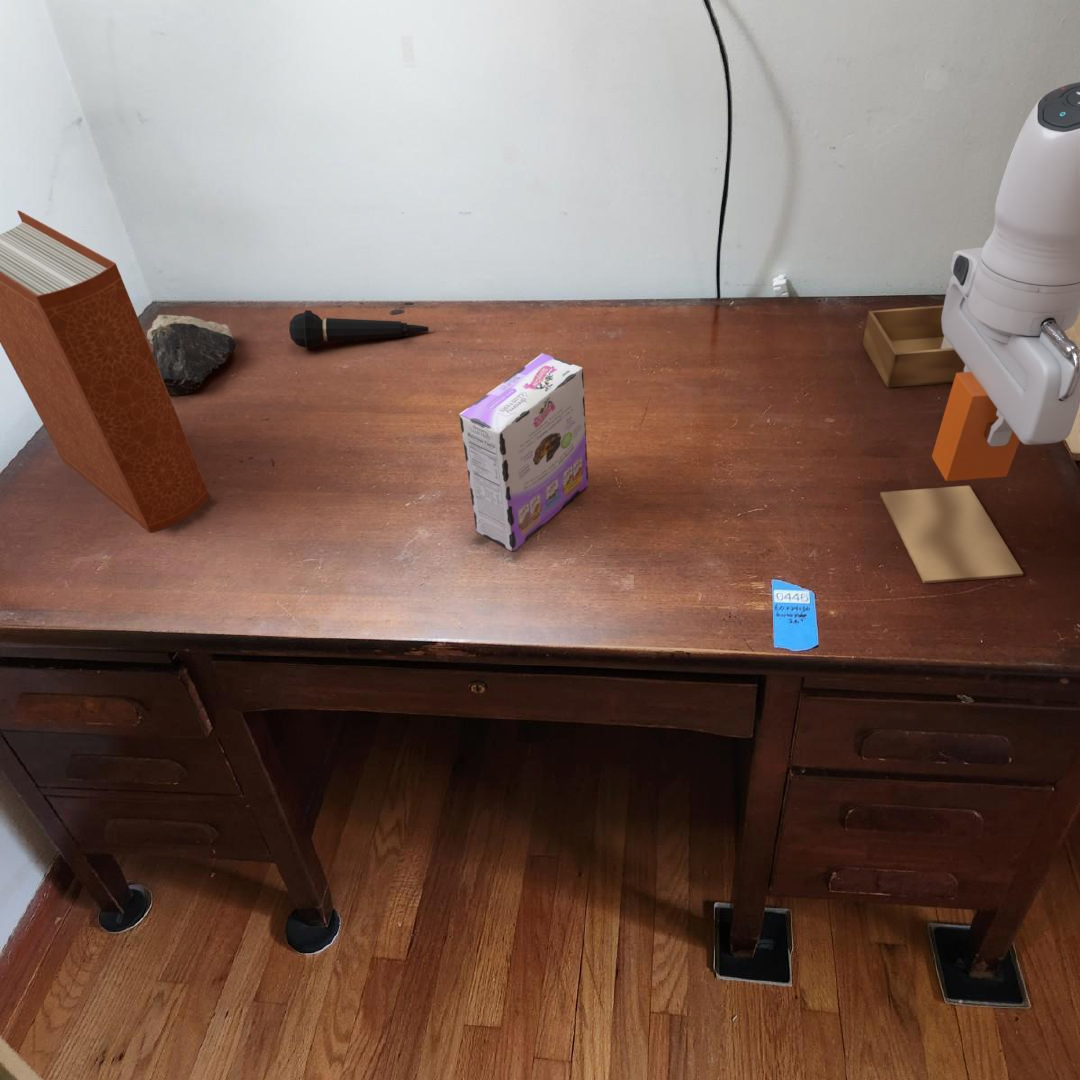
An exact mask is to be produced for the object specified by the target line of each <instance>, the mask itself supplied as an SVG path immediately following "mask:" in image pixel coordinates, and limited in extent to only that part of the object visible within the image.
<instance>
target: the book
mask: <svg viewBox="0 0 1080 1080" xmlns="http://www.w3.org/2000/svg"><path fill="white" fill-rule="evenodd" d="M16 212H17V215H18V216H19V218H20V220H21V223H20V224H18V225H16V226H15V227H13V228H11V229H9V230H6V231H4V232H2V233H0V345H1V347H2V349H3V351H4V352H5V355H6V356H7V358H8V360H9V362H10V364H11V366H12V368H13V370H14V372H15V374H16V375H17V377H18V379H19V381H20V383H21V385H22V387H23V388H24V390H25V392H26V394H27V396H28V398H29V400H30V402H31V404H32V405H33V407H34V409H35V411H36V413H37V415H38V417H39V418H40V420H41V422H42V424H43V426H44V428H45V430H46V432H47V434H48V436H49V437H50V439H51V441H52V443H53V445H54V447H55V449H56V451H57V452H58V454H59V456H60V458H61V460H62V462H63V463H65V464H66V465H67V466H69V467H70V468H71V469H72V470H73V471H75V472H76V474H78V475H79V476H80V477H82V478H83V479H84V480H85V481H87V483H89V484H90V485H92V486H93V487H94V488H95V489H96V490H98V491H99V492H100V493H101V494H102V495H104V497H106V498H107V499H108V500H110V501H111V502H112V503H113V504H115V506H117V507H118V508H119V509H120V510H122V512H124V513H125V514H127V515H128V516H129V517H130V518H131V519H132V520H134V521H135V522H136V523H137V524H138V525H139V526H141V527H142V528H143V529H145V531H147V532H148V533H150V534H151V533H155V532H157V531H161V530H165V529H167V528H169V527H172V526H174V525H176V524H178V523H181V522H182V521H184V520H185V519H187V518H189V517H190V516H192V515H193V514H195V513H196V512H198V511H199V510H201V508H202V507H203V506H204V505H205V504H206V503H207V502H208V501H209V500H210V498H211V494H210V492H209V489H208V487H207V484H206V482H205V480H204V477H203V475H202V472H201V470H200V468H199V465H198V463H197V460H196V457H195V455H194V453H193V451H192V448H191V445H190V443H189V441H188V438H187V436H186V433H185V430H184V428H183V426H182V423H181V421H180V418H179V416H178V413H177V411H176V409H175V406H174V403H173V400H172V398H171V395H170V394H169V393H168V391H167V389H166V386H165V384H164V381H163V379H162V376H161V374H160V371H159V369H158V366H157V364H156V361H155V359H154V357H153V354H152V353H153V351H152V349H151V347H150V344H149V342H148V338H147V336H146V334H145V332H144V329H143V327H142V324H141V322H140V320H139V318H138V317H139V316H138V315H137V312H136V310H135V307H134V305H133V303H132V299H131V298H130V295H129V293H128V290H127V288H126V285H125V282H124V280H123V278H122V276H121V272H120V271H119V268H118V265H117V263H116V262H115V261H113V260H111V259H109V258H107V257H105V256H104V255H102V254H100V253H98V252H96V251H94V250H92V249H91V248H89V247H87V246H85V245H83V244H81V243H80V242H77V241H76V240H74V239H72V238H70V237H68V236H67V235H65V234H63V233H61V232H60V231H58V230H56V229H54V228H52V227H51V226H48V225H47V224H44V223H43V222H41V221H39V220H38V219H36V218H34V217H32V216H30V215H28V214H26V213H25V212H22V211H21V210H17V211H16Z"/></svg>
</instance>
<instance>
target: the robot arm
mask: <svg viewBox="0 0 1080 1080" xmlns="http://www.w3.org/2000/svg"><path fill="white" fill-rule="evenodd" d="M994 205H995V206H994V225H993V227H992V231H991V233H990V235H989V237H988V239H986V242H985V243H984V245H983V246H982V247H971V248H964V249H959V250H955V252H954V253H953V254H952V258H951V262H950V272H951V274H952V276H951V278H950V280H949V281H948V285H947V290H946V293H945V296H944V297H945V298H944V301H943V305H944V306H943V311H942V317H941V323H942V332H943V334H944V336H945V337H946V338H947V340H948V341H949V343H950V344H951V345H952V347H953V348H954V350H955V351H956V352H957V354H958V355H959V356H960V358H961V359H962V361H963V362H964V363H965V367H964V372H971V373H972V374H973V375H974V377H975V378H976V380H977V381H978V382H979V384H980V385H981V387H982V388H983V389H984V391H985V392H986V393H987V395H988V397H989V398H990V399H991V401H992V402H993V404H994V405H995V406H996V408H997V409H998V410H997V413H996V415H997V416H998V417H999V419H998V420H997V421H996V422H991V423H987V426H986V429H985V432H984V437H985V439H986V440H987V442H988V443H989V445H990V446H1004V445H1006V444H1007V443H1008V442H1009V439H1010V436H1011V434H1012V431H1014V433H1015V434H1016V435H1017V437H1018V438H1019V440H1020V442H1021V443H1022V444H1023V445H1027V446H1035V445H1036V446H1037V445H1038V446H1039V445H1047V444H1057V443H1060V442H1062V441H1065V440H1066V439H1067V438H1068V437H1069V436H1070V434H1071V432H1072V430H1073V427H1074V425H1075V422H1076V419H1077V415H1078V411H1079V408H1080V356H1079V354H1080V349H1079V346H1078V345H1077V343H1076V342H1075V341H1074V340H1072V339H1071V338H1070V337H1068V335H1067V333H1066V332H1065V331H1067V330H1069V329H1071V328H1072V327H1073V326H1074V325H1075V324H1076V323H1077V321H1078V318H1079V316H1080V81H1077V82H1073V83H1069V84H1066V85H1063V86H1060V87H1058V88H1056V89H1054V90H1051V91H1049V92H1047V93H1046V94H1044V95H1043V96H1042V97H1040V99H1038V101H1037V102H1036V104H1035V105H1034V107H1033V108H1032V110H1031V111H1030V112H1029V114H1028V116H1027V117H1026V120H1025V122H1024V123H1023V126H1022V127H1021V129H1020V132H1019V133H1018V136H1017V138H1016V140H1015V143H1014V146H1013V148H1012V151H1011V152H1010V156H1009V159H1008V161H1007V164H1006V167H1005V170H1004V173H1003V176H1002V179H1001V182H1000V186H999V190H998V192H997V197H996V200H995V204H994Z"/></svg>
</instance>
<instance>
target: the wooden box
mask: <svg viewBox="0 0 1080 1080" xmlns="http://www.w3.org/2000/svg"><path fill="white" fill-rule="evenodd" d="M943 306H944V304H943V305H930V306H929V305H928V306H916V307H905V308H903V307H902V308H891V309H890V308H889V309H879V310H868V311H867V315H866V320H865V325H864V330H863V334H862V340H861V345H862V347H863V349H864V350H865V352H866V354H867V355H868V357H869V359H870V361H871V362H872V364H873V366H874V368H875V370H876V371H877V373H878V375H879V376H880V378H881V379H882V382H883V383H884V385H885V387H886V388H887V389H894V388H905V387H918V386H932V385H945V384H953V382H954V379H955V376H956V373H962V372H964V367H965V363H964V362H963V361H962V359H961V358H960V356H959V355H958V354H957V352H956V351H955V350H954V348H946V349H941V346H942V342H943V339H944V334H943V332H942V323H941V317H942V311H943Z"/></svg>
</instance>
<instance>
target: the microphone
mask: <svg viewBox="0 0 1080 1080" xmlns="http://www.w3.org/2000/svg"><path fill="white" fill-rule="evenodd" d="M288 327H289V328H288V329H289V330H288V331H289V335H290V339H291V341H293V343H294V344H295V345H296V346H298V347H300V348H306V350H308V351H315V349H316V348H318V347H319V346H321V345H322V343H323V342H324V341H326V342H327V343H336V342H343V343H345V344H352V343H356V342H357V341H364V340H365V341H366V340H367V341H368V340H379V339H380V340H381V339H394V338H402V337H408V335H411V334H412V335H413V334H421V333H426V332H429V326H425V325H420V324H419V325H417V324H408V323H407V322H402V321H401V320H400V321H399V320H397V321H396V320H379V319H378V320H377V319H357V318H333V317H325V318H324V319H322V318H321V317H320V316H319V315H318V314H316V313H314V312H313V311H312V310H309V309H305V310H304V312H301V313H297V314H295V315H293V317H292V318H291V320H290V321H289V326H288Z"/></svg>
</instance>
